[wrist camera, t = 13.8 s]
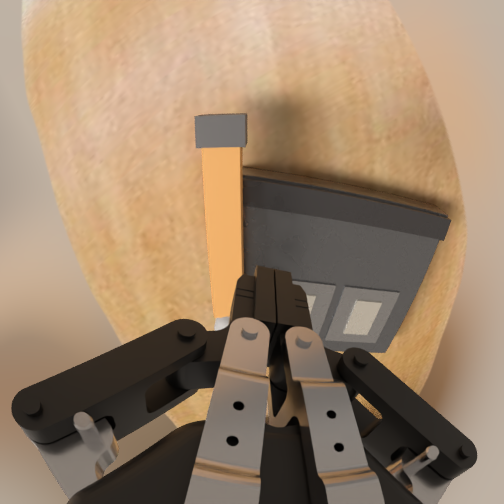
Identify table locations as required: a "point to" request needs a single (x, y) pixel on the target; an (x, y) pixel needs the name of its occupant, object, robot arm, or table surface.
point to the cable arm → (223, 204)
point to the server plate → (341, 251)
